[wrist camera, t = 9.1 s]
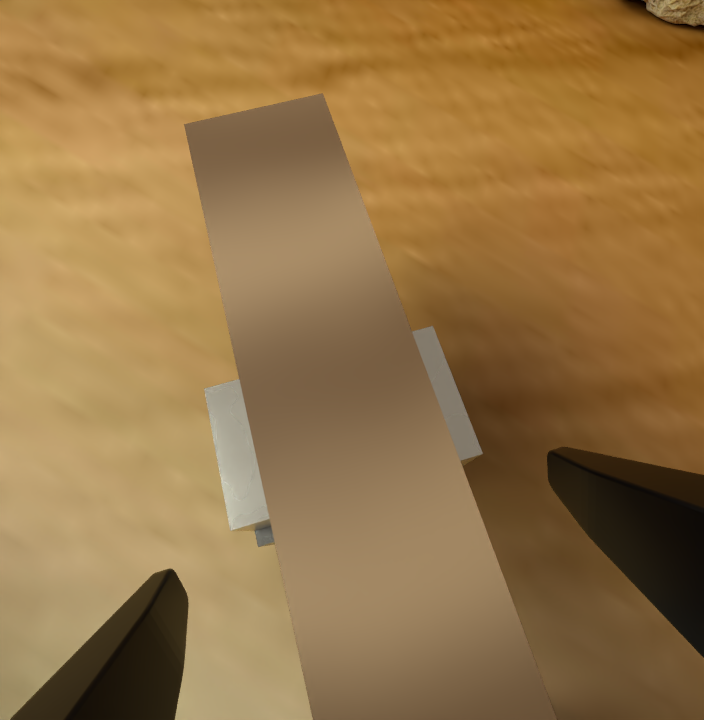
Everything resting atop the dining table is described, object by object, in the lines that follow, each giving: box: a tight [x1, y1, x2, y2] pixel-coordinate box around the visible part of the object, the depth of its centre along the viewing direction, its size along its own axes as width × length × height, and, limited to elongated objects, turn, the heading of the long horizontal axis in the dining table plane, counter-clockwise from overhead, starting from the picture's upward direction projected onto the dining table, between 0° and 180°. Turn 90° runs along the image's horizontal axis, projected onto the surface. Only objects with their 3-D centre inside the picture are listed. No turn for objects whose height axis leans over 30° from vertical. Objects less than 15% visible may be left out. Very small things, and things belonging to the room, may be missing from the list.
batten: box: [184, 94, 557, 720], centre depth 11 cm, size 15×4×4 cm, turn 16°
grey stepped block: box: [204, 326, 483, 547], centre depth 16 cm, size 5×7×6 cm
